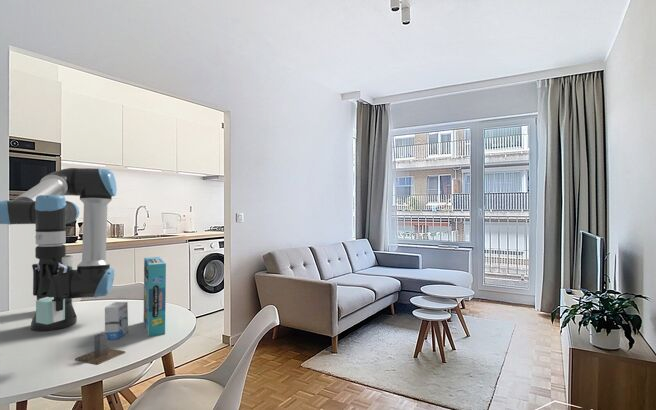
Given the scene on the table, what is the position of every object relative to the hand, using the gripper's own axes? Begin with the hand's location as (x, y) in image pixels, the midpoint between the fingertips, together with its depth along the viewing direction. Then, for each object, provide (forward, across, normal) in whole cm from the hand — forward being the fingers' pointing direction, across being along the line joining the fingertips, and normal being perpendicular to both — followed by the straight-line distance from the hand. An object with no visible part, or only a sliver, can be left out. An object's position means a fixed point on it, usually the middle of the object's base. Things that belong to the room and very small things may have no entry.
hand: (50, 319), depth 117 cm
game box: (+14, +3, +38) cm, 40 cm away
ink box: (+14, -3, +26) cm, 29 cm away
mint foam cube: (0, 0, 0) cm, 0 cm away
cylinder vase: (+15, -57, +40) cm, 71 cm away
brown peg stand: (+14, +9, +10) cm, 19 cm away
